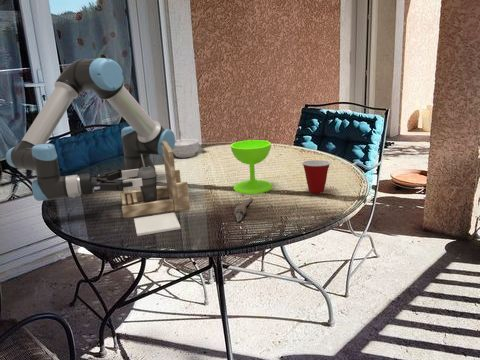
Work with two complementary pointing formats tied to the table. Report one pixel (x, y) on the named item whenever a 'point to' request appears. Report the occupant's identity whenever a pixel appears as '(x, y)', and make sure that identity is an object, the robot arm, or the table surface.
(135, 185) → the robot arm
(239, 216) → the natural artifact
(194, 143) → the paper bowls
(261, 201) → the table surface
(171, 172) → the pine rack
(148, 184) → the beverage cup
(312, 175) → the plastic cup
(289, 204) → the table surface
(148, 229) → the white tile
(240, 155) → the wineglass
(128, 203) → the plywood offcuts
